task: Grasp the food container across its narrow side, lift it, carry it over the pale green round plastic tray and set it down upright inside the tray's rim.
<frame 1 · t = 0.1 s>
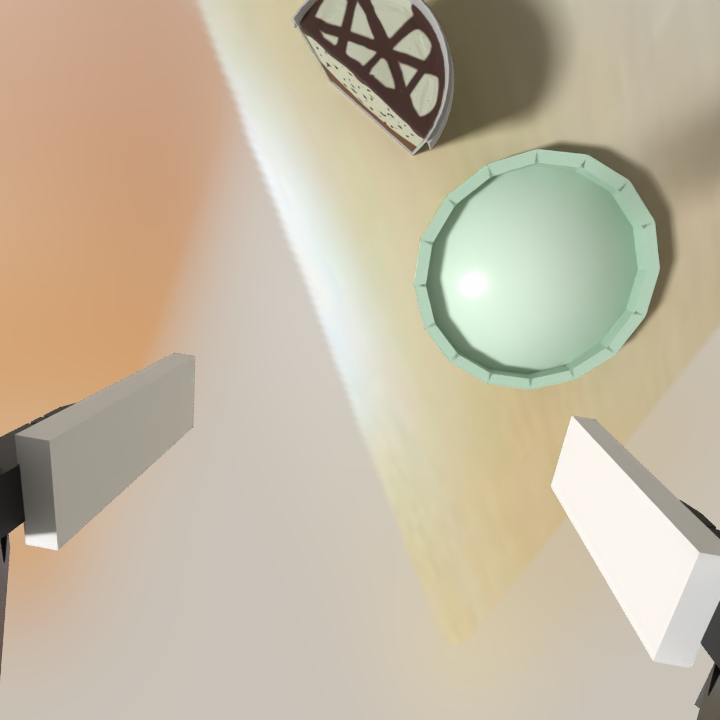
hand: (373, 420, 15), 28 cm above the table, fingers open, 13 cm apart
tray: (525, 275, 40), on the table
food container: (395, 87, 37), on the table
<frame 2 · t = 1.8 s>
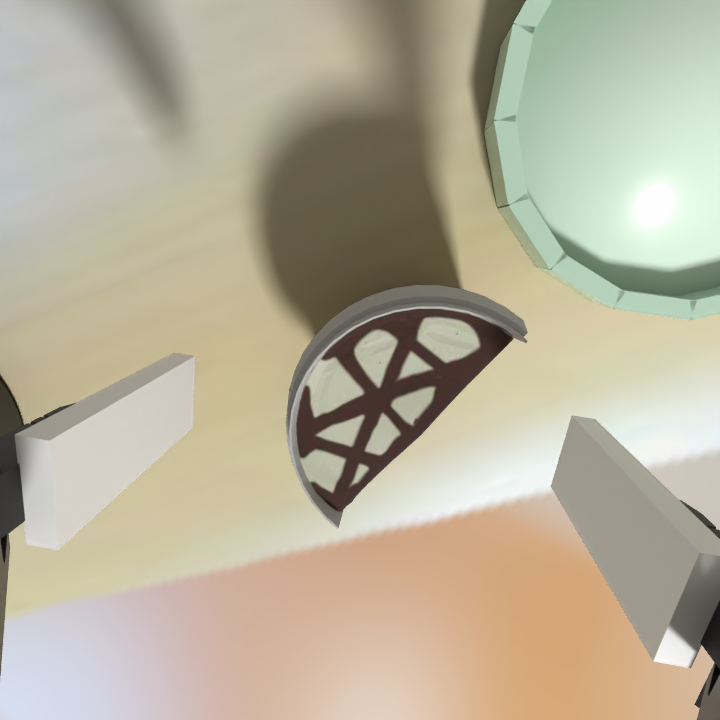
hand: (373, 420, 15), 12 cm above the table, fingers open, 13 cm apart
tray: (687, 114, 22), on the table
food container: (377, 337, 27), on the table
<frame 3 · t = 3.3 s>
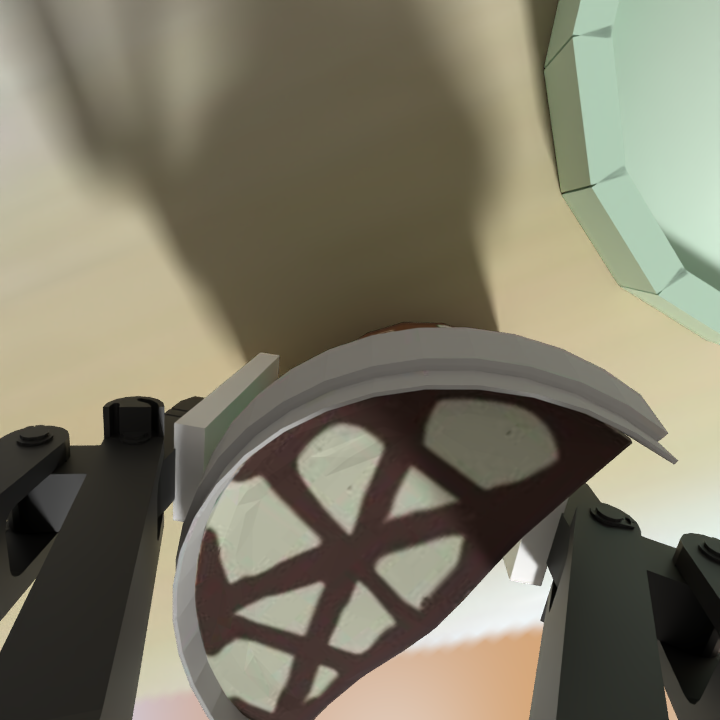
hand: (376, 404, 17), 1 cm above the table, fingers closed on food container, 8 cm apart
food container: (368, 388, 18), on the table, touching gripper
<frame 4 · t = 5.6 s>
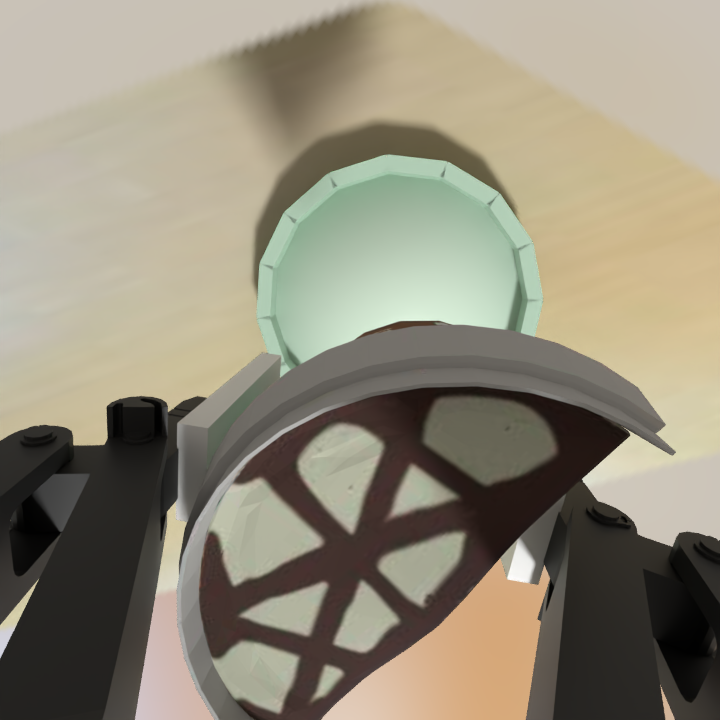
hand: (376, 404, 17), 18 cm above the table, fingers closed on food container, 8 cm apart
tray: (395, 304, 34), on the table
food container: (366, 387, 18), point 16 cm above the table, touching gripper
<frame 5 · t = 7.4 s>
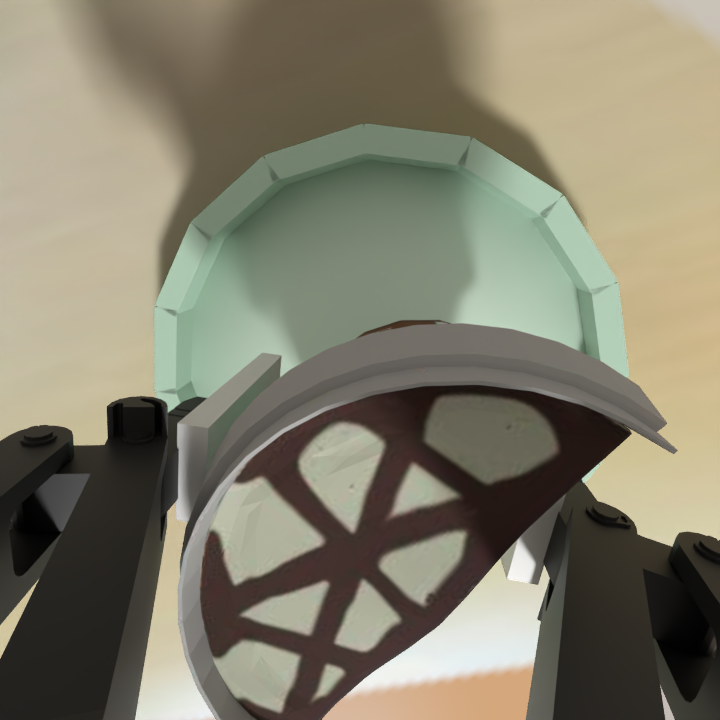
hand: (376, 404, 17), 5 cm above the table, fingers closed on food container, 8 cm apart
tray: (380, 368, 21), on the table
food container: (367, 387, 18), point 3 cm above the table, touching gripper
when the fingers open (2 cm above the table, at t = 8.2 s): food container stays where it is, resting on tray.
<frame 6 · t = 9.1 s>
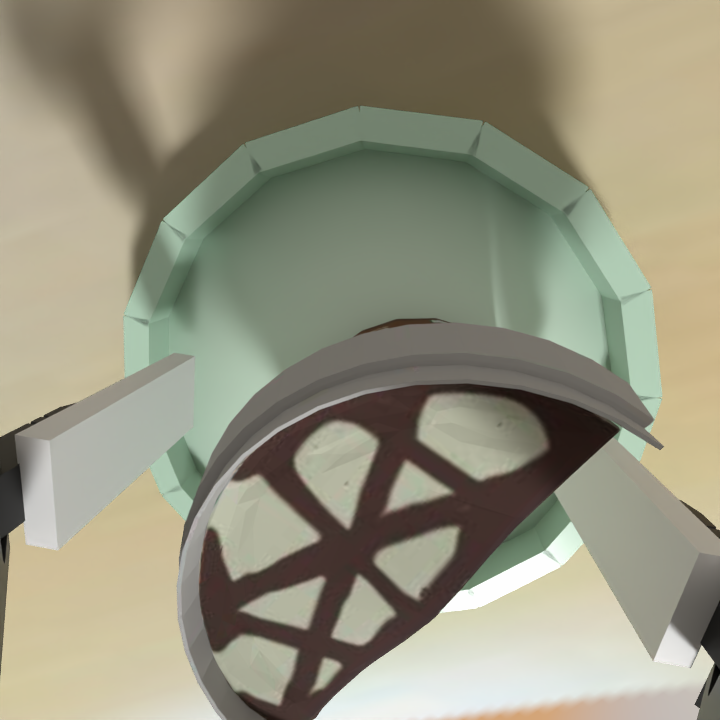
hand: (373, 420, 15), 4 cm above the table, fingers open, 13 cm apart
tray: (379, 383, 19), on the table
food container: (364, 385, 18), point 1 cm above the table, touching tray
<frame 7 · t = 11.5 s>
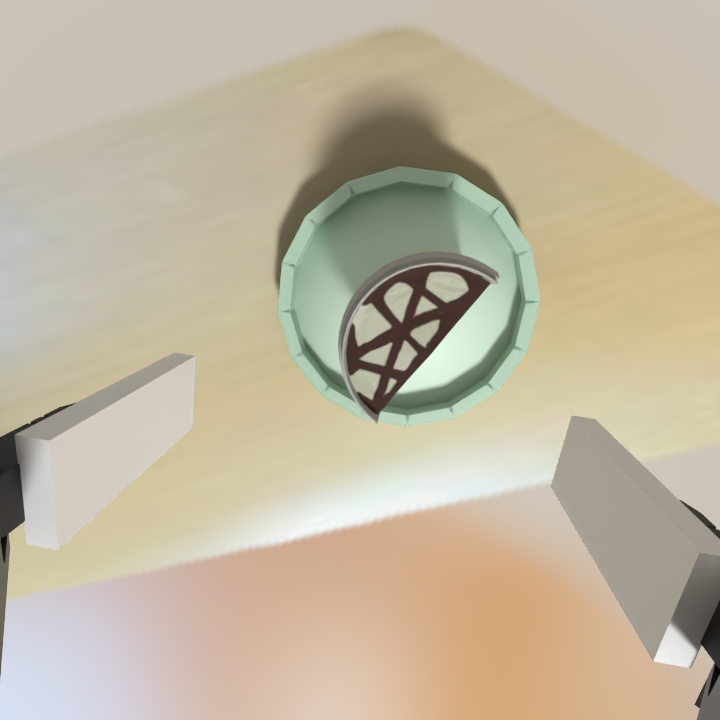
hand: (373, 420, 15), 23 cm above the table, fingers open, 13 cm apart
tray: (404, 302, 37), on the table
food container: (397, 301, 36), point 1 cm above the table, touching tray
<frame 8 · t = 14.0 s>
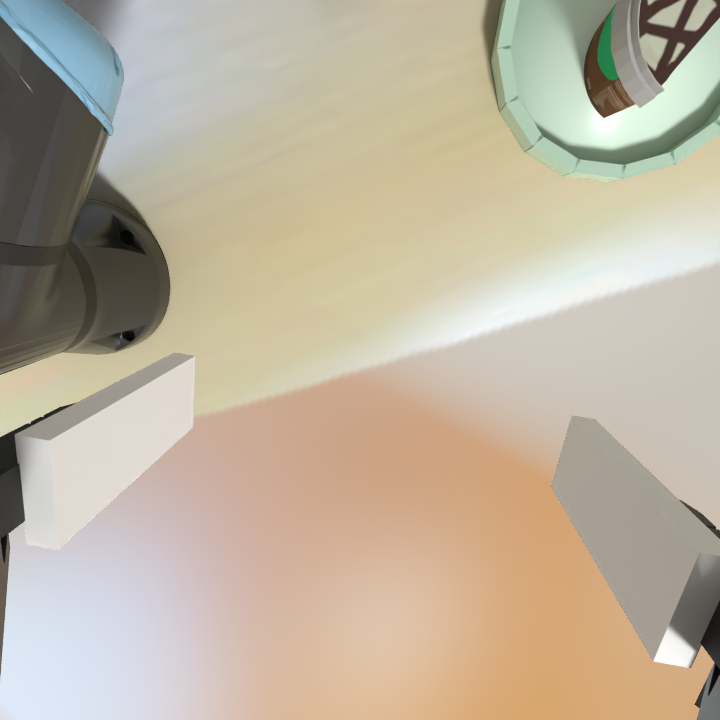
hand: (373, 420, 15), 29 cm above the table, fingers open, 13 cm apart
tray: (620, 46, 35), on the table
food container: (617, 40, 35), point 1 cm above the table, touching tray
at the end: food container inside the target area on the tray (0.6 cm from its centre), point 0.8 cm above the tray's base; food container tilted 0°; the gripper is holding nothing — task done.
